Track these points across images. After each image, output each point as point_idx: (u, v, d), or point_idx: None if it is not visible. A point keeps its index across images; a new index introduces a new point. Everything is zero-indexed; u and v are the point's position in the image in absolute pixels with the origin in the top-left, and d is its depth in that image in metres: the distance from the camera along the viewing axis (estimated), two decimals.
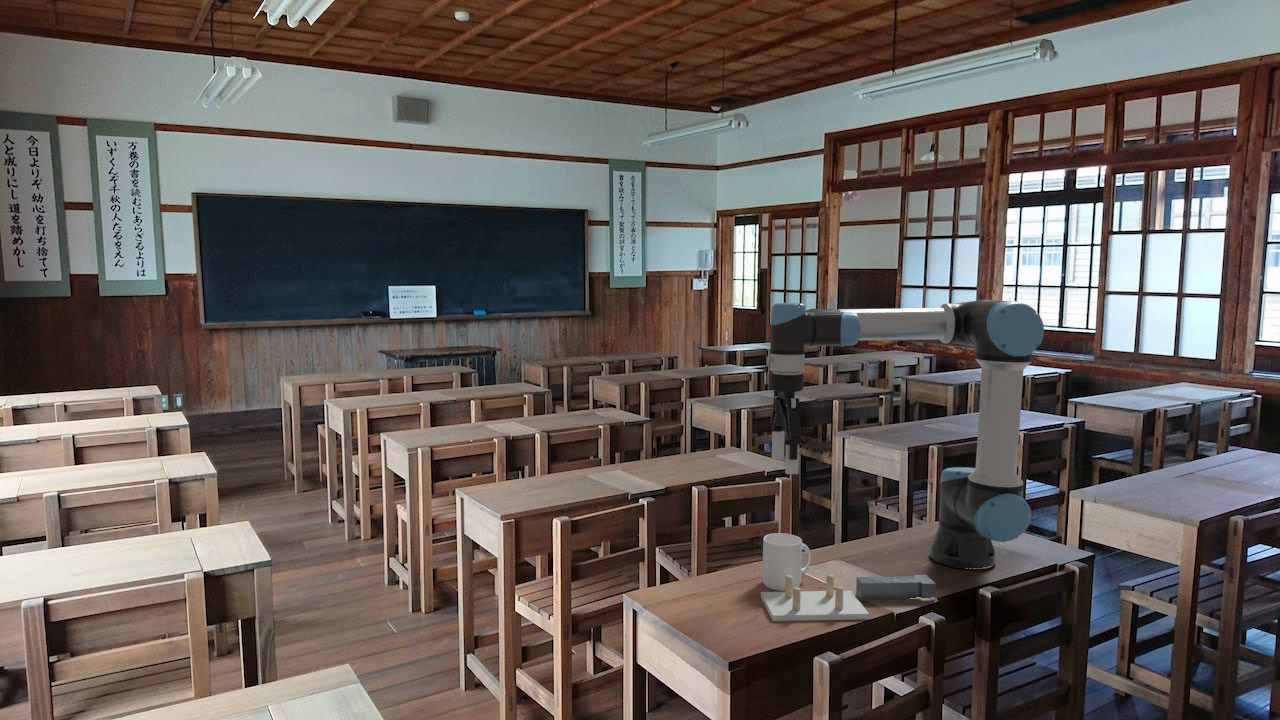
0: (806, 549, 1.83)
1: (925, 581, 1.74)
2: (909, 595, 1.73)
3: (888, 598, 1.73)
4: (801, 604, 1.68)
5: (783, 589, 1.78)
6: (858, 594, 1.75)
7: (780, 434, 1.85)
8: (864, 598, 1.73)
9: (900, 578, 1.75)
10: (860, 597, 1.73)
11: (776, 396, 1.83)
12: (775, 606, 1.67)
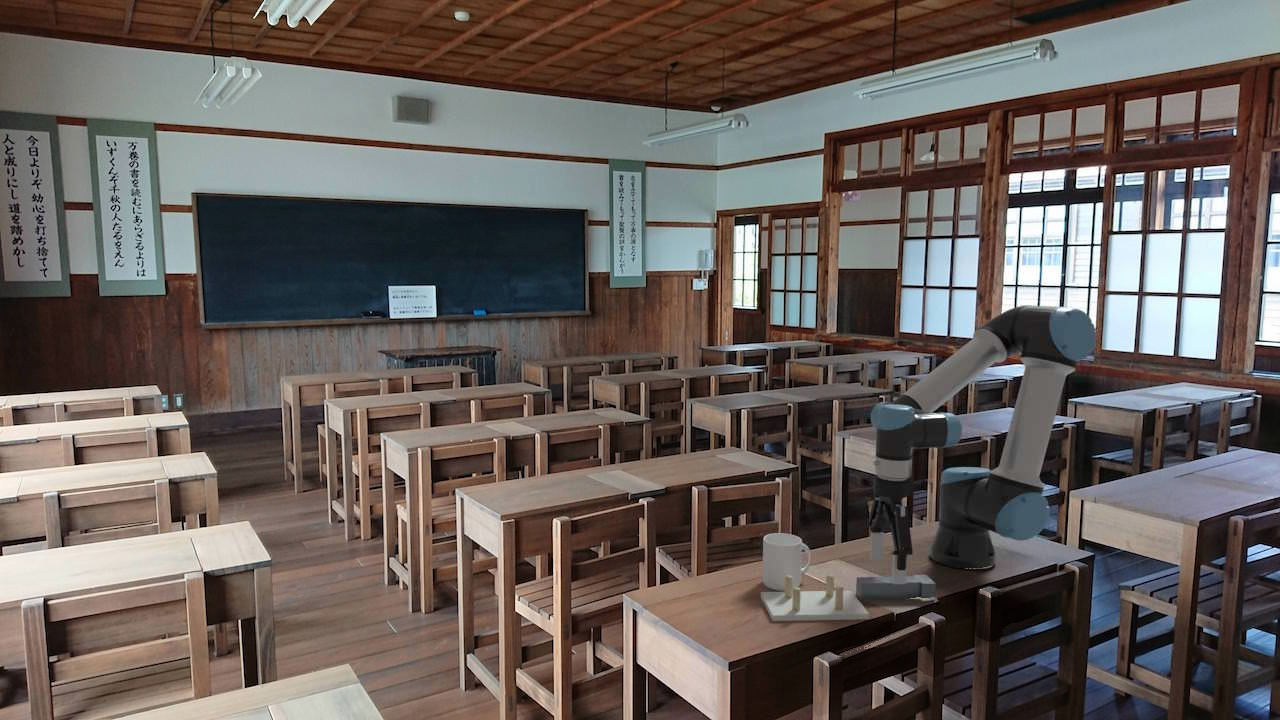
0: (806, 549, 1.83)
1: (925, 581, 1.74)
2: (909, 595, 1.73)
3: (888, 598, 1.73)
4: (801, 604, 1.68)
5: (783, 589, 1.78)
6: (858, 594, 1.75)
7: (879, 535, 1.80)
8: (864, 598, 1.73)
9: None
10: (860, 597, 1.73)
11: (877, 497, 1.78)
12: (775, 606, 1.67)
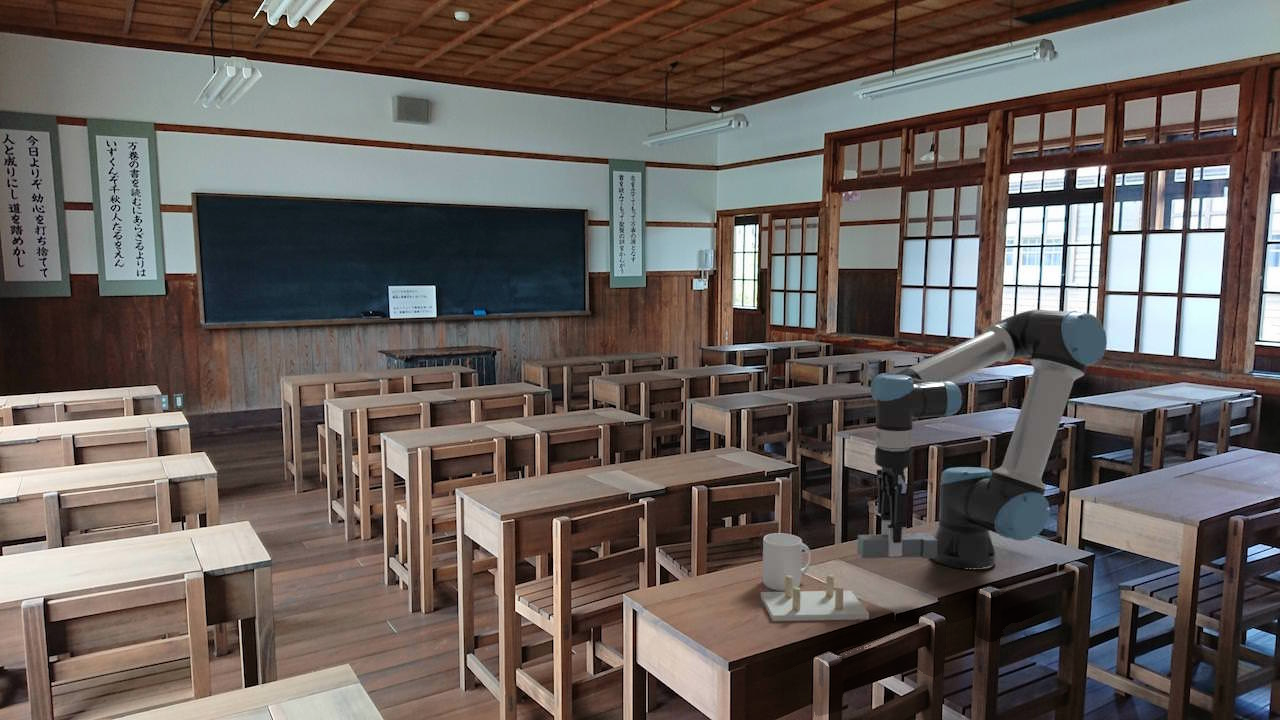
0: (806, 549, 1.83)
1: (926, 538, 1.73)
2: (911, 552, 1.72)
3: None
4: (801, 604, 1.68)
5: (783, 589, 1.78)
6: (859, 551, 1.74)
7: (890, 523, 1.75)
8: (866, 555, 1.72)
9: (902, 535, 1.74)
10: (861, 554, 1.73)
11: (880, 474, 1.77)
12: (775, 606, 1.67)
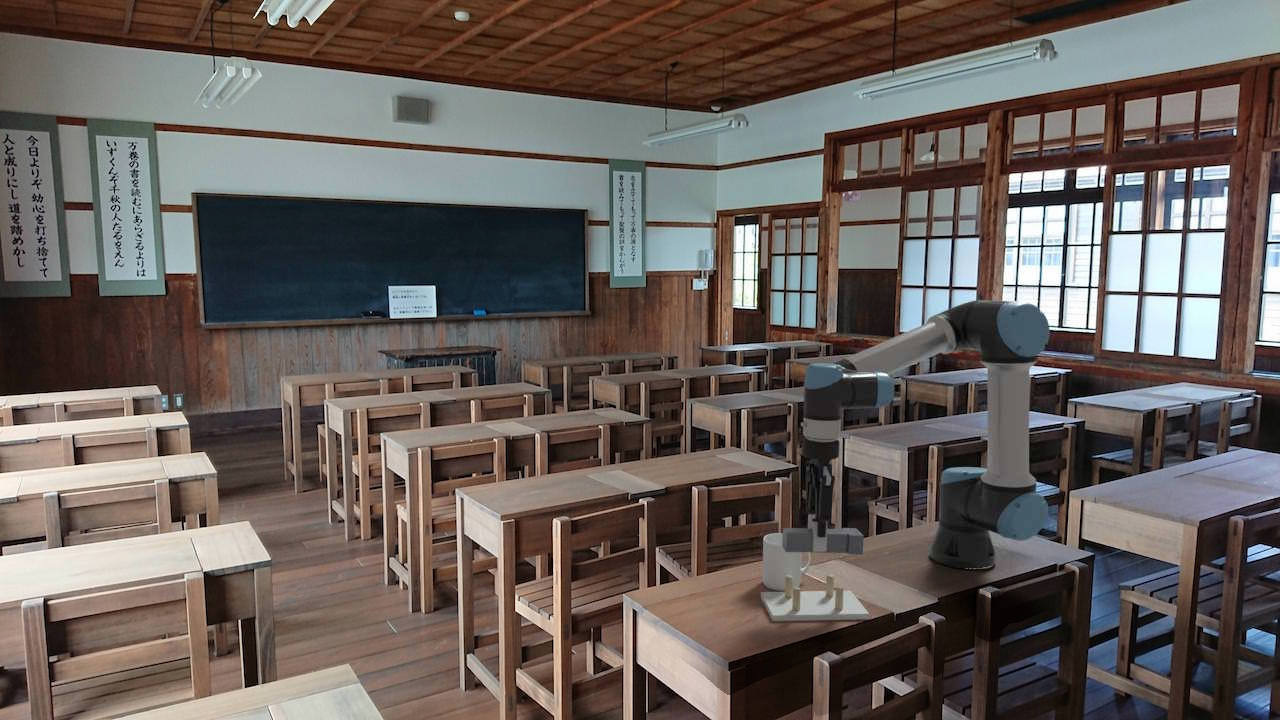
0: None
1: (853, 533, 1.66)
2: (836, 547, 1.66)
3: None
4: (801, 604, 1.68)
5: (783, 589, 1.78)
6: (783, 545, 1.68)
7: None
8: (789, 549, 1.66)
9: (828, 530, 1.68)
10: (785, 548, 1.66)
11: None
12: (775, 606, 1.67)
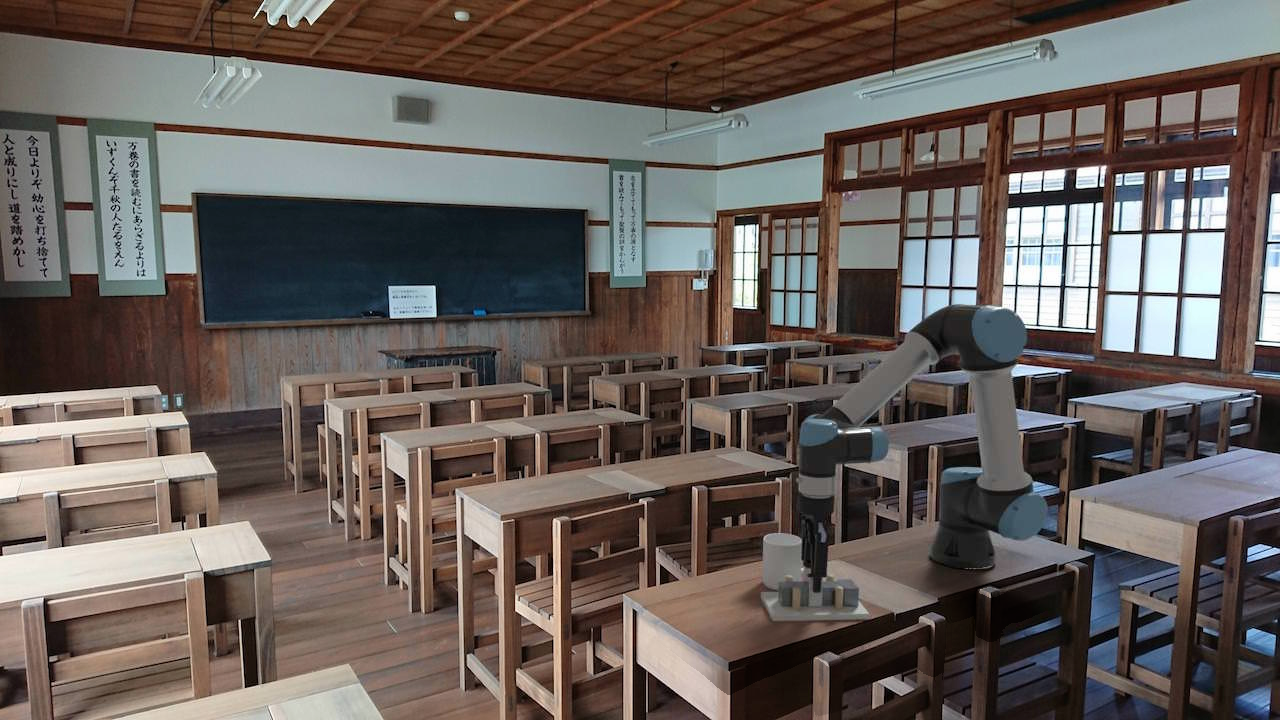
0: None
1: (848, 586, 1.67)
2: (832, 600, 1.67)
3: None
4: None
5: None
6: (779, 599, 1.69)
7: None
8: (785, 603, 1.67)
9: (823, 583, 1.69)
10: (781, 602, 1.67)
11: (804, 520, 1.72)
12: (775, 606, 1.67)
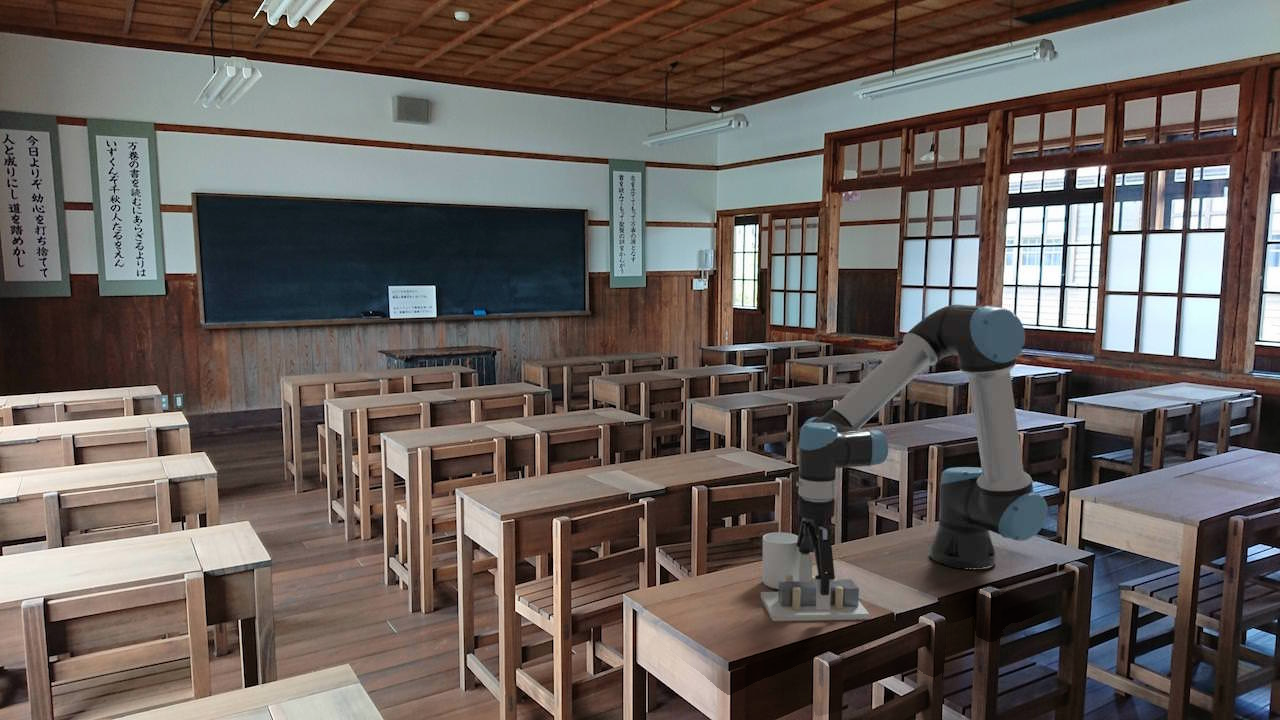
0: None
1: (848, 586, 1.67)
2: (832, 600, 1.67)
3: (810, 603, 1.67)
4: None
5: None
6: (779, 599, 1.69)
7: (808, 557, 1.74)
8: (785, 603, 1.67)
9: None
10: (781, 602, 1.67)
11: (804, 518, 1.72)
12: (775, 606, 1.67)
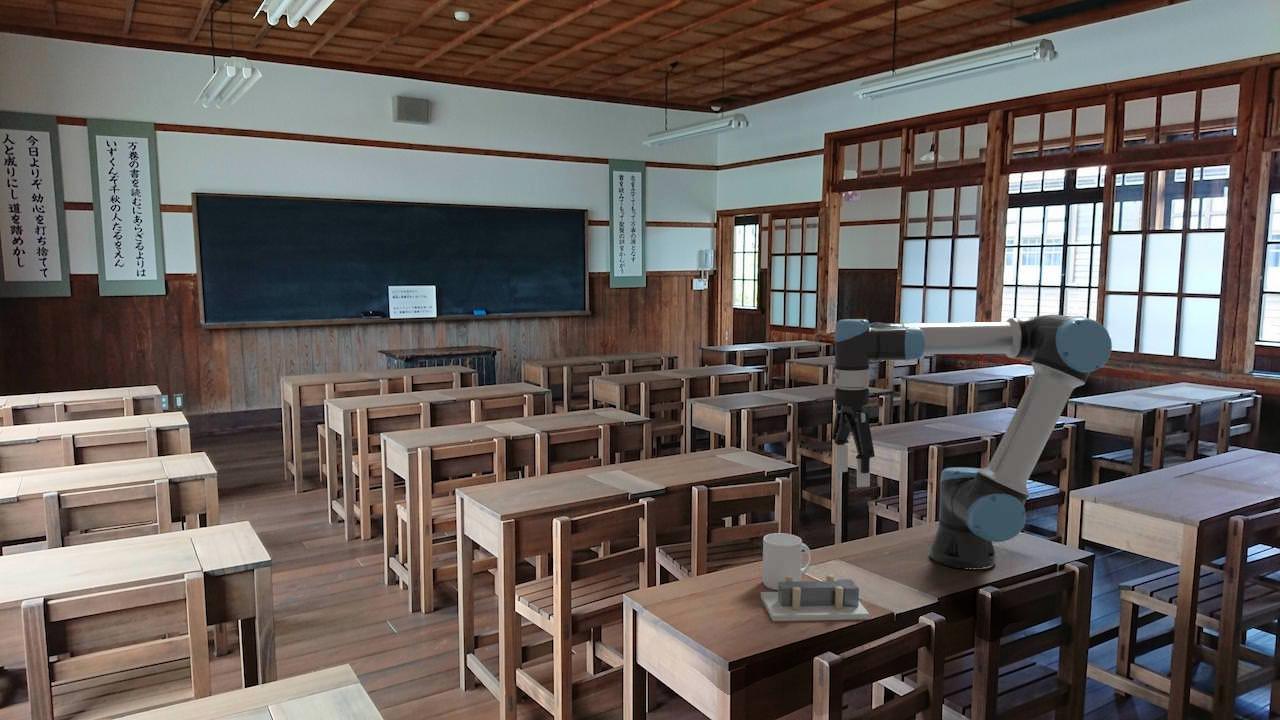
0: (806, 549, 1.83)
1: (848, 586, 1.67)
2: (832, 600, 1.67)
3: (810, 603, 1.67)
4: None
5: None
6: (779, 599, 1.69)
7: (843, 447, 1.89)
8: (785, 603, 1.67)
9: (823, 583, 1.69)
10: (781, 602, 1.67)
11: (839, 410, 1.87)
12: (775, 606, 1.67)
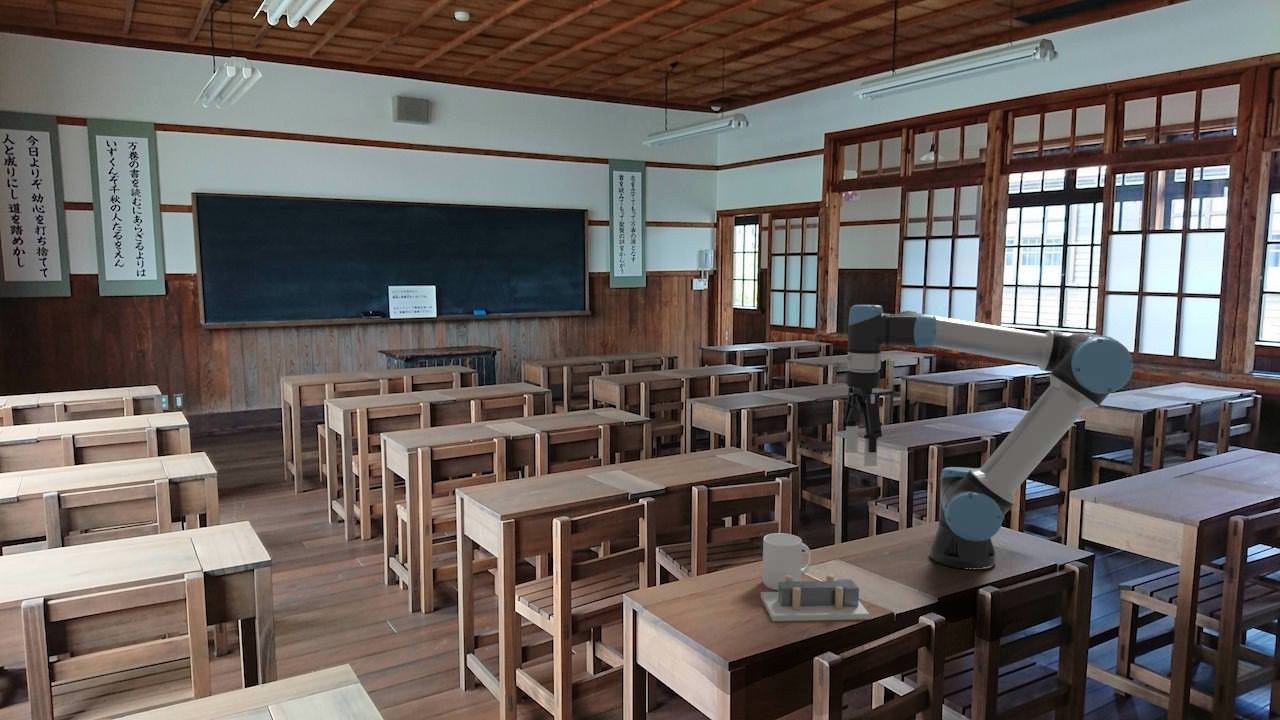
0: (806, 549, 1.83)
1: (848, 586, 1.67)
2: (832, 600, 1.67)
3: (810, 603, 1.67)
4: None
5: None
6: (779, 599, 1.69)
7: (854, 429, 1.96)
8: (785, 603, 1.67)
9: (823, 583, 1.69)
10: (781, 602, 1.67)
11: (851, 393, 1.94)
12: (775, 606, 1.67)
